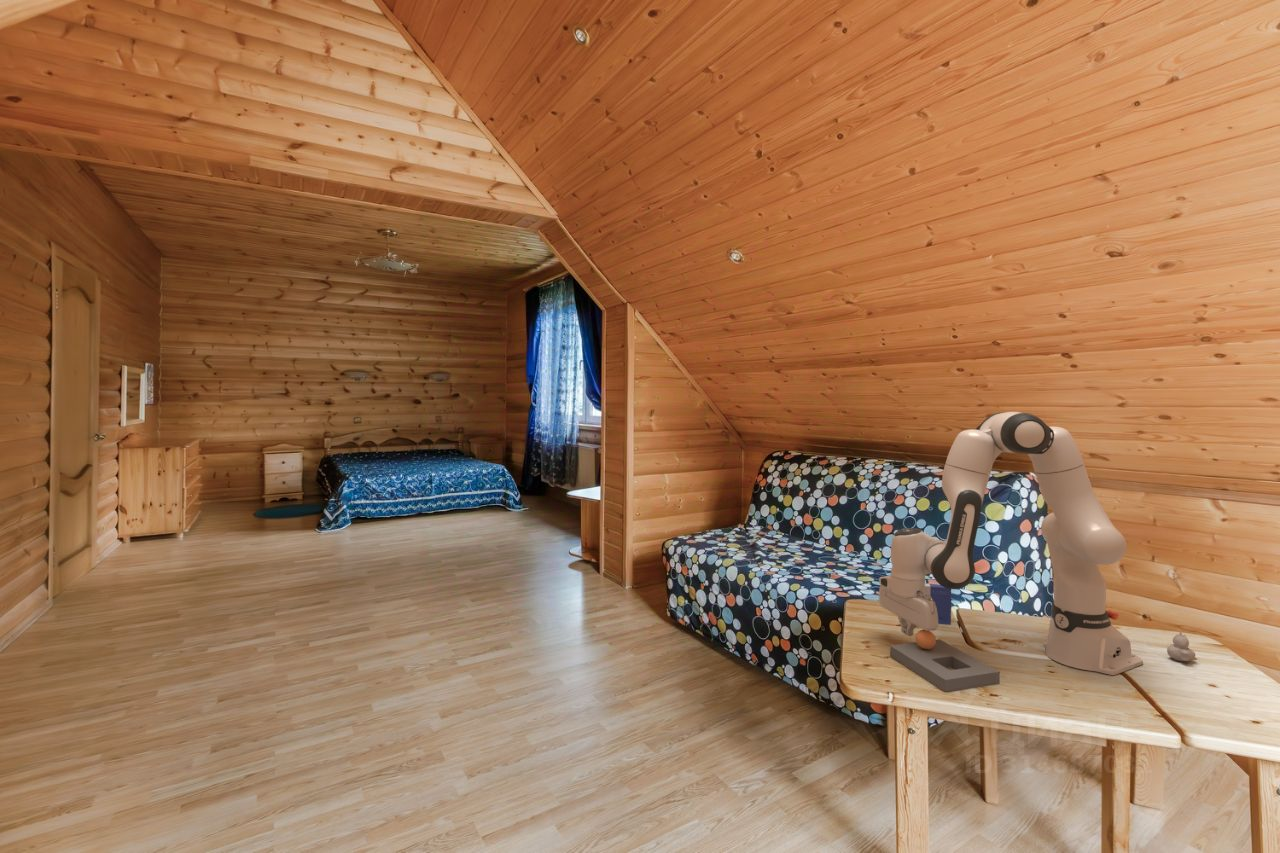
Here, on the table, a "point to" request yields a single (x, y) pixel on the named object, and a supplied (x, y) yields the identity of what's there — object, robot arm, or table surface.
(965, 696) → the table surface
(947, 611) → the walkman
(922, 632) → the ball
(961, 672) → the pocket board
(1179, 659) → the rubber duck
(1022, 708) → the table surface
